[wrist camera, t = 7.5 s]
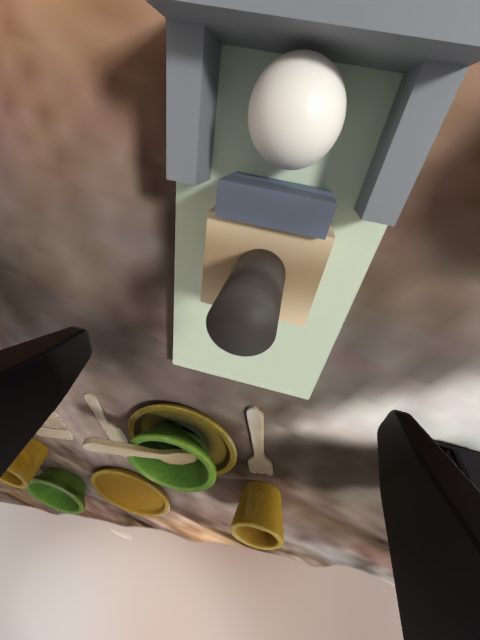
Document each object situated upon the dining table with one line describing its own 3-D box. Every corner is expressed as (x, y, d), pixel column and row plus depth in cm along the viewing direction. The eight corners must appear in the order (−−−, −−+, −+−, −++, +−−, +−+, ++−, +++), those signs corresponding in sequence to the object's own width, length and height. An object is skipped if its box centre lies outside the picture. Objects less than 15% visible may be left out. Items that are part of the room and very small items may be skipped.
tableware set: (276, 398, 26) (269, 462, 21) (291, 530, 40) (288, 588, 35) (-38, 381, 36) (-95, 421, 31) (63, 492, 50) (35, 532, 45)
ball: (373, 43, 9) (354, 71, 12) (249, 23, 9) (264, 56, 12) (330, 183, 11) (324, 174, 14) (232, 163, 11) (249, 159, 14)
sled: (304, 299, 18) (302, 395, 11) (215, 278, 18) (162, 358, 12) (340, 191, 14) (370, 237, 7) (227, 169, 15) (161, 193, 8)
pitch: (308, 390, 24) (308, 449, 19) (177, 356, 25) (148, 404, 20) (463, 38, 11) (565, -29, 7) (188, -3, 12) (120, -85, 8)
